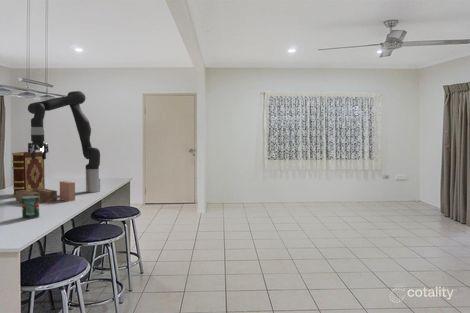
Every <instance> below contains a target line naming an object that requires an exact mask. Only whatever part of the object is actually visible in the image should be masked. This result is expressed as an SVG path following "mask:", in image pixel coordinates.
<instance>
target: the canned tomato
mask: <svg viewBox="0 0 470 313" xmlns="http://www.w3.org/2000/svg"><path fill="white" fill-rule="evenodd" d="M21 214H22V215H21V216H22V217H21V219H24V220H33V219H37V218H39V217H40V204H39V196H24V197H22V202H21Z"/></svg>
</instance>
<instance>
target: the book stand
mask: <svg viewBox="0 0 470 313" xmlns="http://www.w3.org/2000/svg"><path fill="white" fill-rule="evenodd" d="M24 196H39V203H40V204H45V203H51V202H57V201H58V190H55V189H49V188H45V189H44V188H35V189H33V192H32V191H27V190H19V191H16V197H15V201H16V202H18V201H19V203H22V197H24Z"/></svg>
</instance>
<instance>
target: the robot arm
mask: <svg viewBox="0 0 470 313" xmlns="http://www.w3.org/2000/svg"><path fill="white" fill-rule="evenodd" d="M85 101H86V95H85V93H84V92H83V91H80V90H76V91H74V90H73V91H69V92H68V93H67V95H66V96H65V95H64V96H60V97H55V98H54V97H53V98H49V99H46V100H45V99H44V100H42V101H35V102H31V103H29V104H28V106H27V111H28V112H29V113H31V114H32V115H33V117H32V118H31V119H30V140H31V141H30V142H28V143H27V152H30V153H31V158H32V159H35V152H37V151H39V152H42V159H43V160H44V161H45V160H46V159H47V153H48V154H49V144H48V142H47V143H44V142H45V130H44V128H45V127H44V118H45V115H46V112H49V111H53V110H56V109H60V108H63V107H66V106H69V107H70V110H71V112H72V116H73V119H74V122H75V128H76V130H77V132H78V135H79V136H78V137H79V141H80V144H81V149H82V154H83V157H84V158H85V159H86V160H88V163H87V164H86V165H85V192H86V193H97V192H100V191H101V178H100V174H99V173H100V167H99V166H100V165H101V151H100V149H99V148H98V147H93V146H92V144H91V134H92V128H91V124H90V121H89V119H88V118H87V116H86V115H85V113H84V112H83V110H82V109H81V106H80V105H81V104H83V103H85Z"/></svg>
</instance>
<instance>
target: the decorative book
mask: <svg viewBox="0 0 470 313" xmlns="http://www.w3.org/2000/svg"><path fill="white" fill-rule="evenodd" d="M11 156H12V161H11V162H12V171H13V173H12V174H13V180H12V183H13V187H12V189H13V194H12V197H15V198H16V191H19V190H27V191H32V192H33V189H35V188H44V189H46V188H45V159H44V160H43V159H42V152H41V151H35V159H32V158H31V153H30V152H28V151H23V152H22V151H21V152H19V151H18V152H11Z"/></svg>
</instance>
